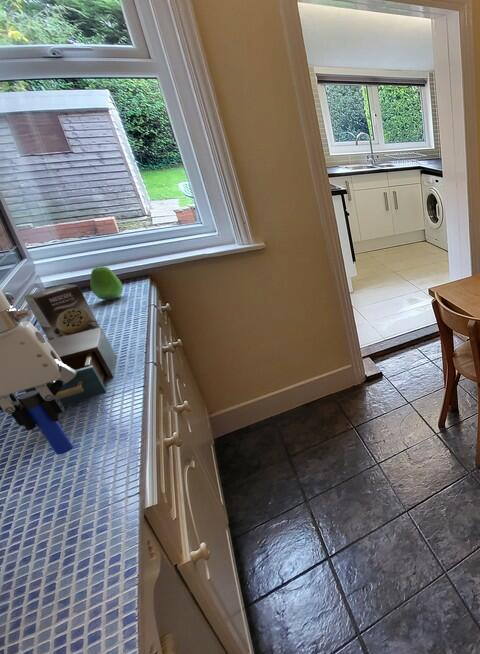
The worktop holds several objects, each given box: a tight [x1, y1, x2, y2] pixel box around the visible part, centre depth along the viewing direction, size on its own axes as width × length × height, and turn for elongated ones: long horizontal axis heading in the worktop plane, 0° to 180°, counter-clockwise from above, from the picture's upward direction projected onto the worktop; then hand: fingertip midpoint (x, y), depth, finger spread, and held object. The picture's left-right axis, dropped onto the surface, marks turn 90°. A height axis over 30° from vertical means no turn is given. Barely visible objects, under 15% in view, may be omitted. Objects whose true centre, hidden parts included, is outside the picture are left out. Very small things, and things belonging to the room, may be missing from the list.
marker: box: [17, 391, 75, 456], centre depth 70 cm, size 2×2×12 cm
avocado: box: [89, 266, 123, 301], centre depth 143 cm, size 8×8×12 cm
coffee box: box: [23, 283, 101, 341], centre depth 112 cm, size 9×6×16 cm
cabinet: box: [47, 326, 117, 381], centre depth 98 cm, size 14×12×9 cm
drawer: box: [24, 351, 108, 408], centre depth 90 cm, size 17×10×7 cm, turn 40°
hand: (45, 420), depth 70 cm, fingers closed on marker, 2 cm apart
